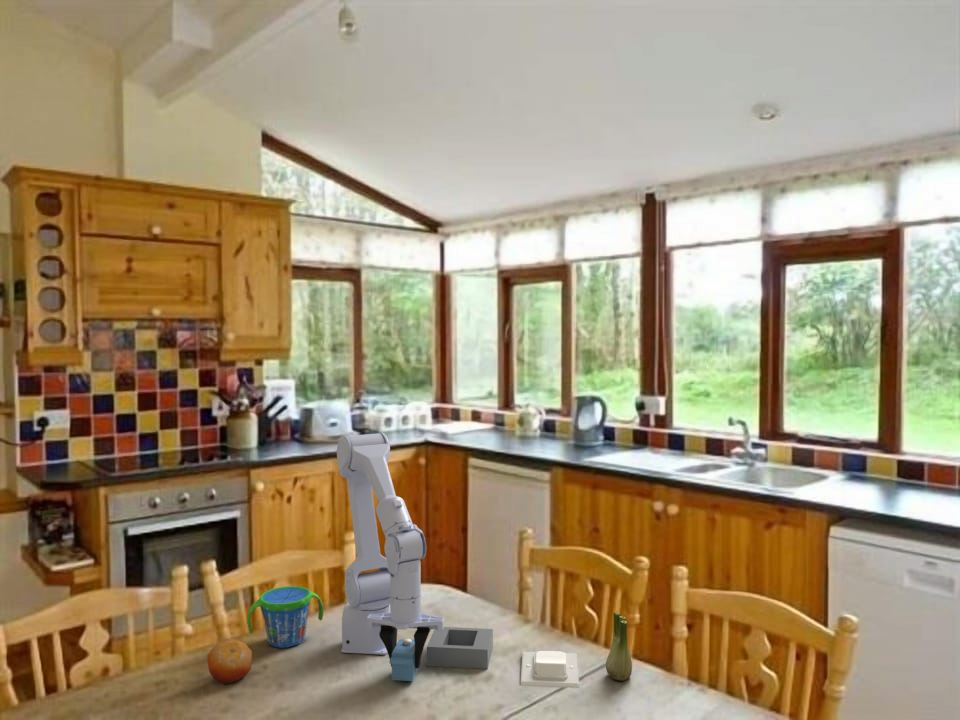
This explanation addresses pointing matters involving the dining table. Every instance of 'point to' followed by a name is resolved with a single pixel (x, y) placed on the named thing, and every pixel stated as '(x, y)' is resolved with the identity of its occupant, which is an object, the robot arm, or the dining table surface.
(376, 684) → the dining table surface
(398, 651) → the servo
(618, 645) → the fennel bulb
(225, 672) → the fruit
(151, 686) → the dining table surface
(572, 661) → the light switch
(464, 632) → the block
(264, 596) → the snack cup
